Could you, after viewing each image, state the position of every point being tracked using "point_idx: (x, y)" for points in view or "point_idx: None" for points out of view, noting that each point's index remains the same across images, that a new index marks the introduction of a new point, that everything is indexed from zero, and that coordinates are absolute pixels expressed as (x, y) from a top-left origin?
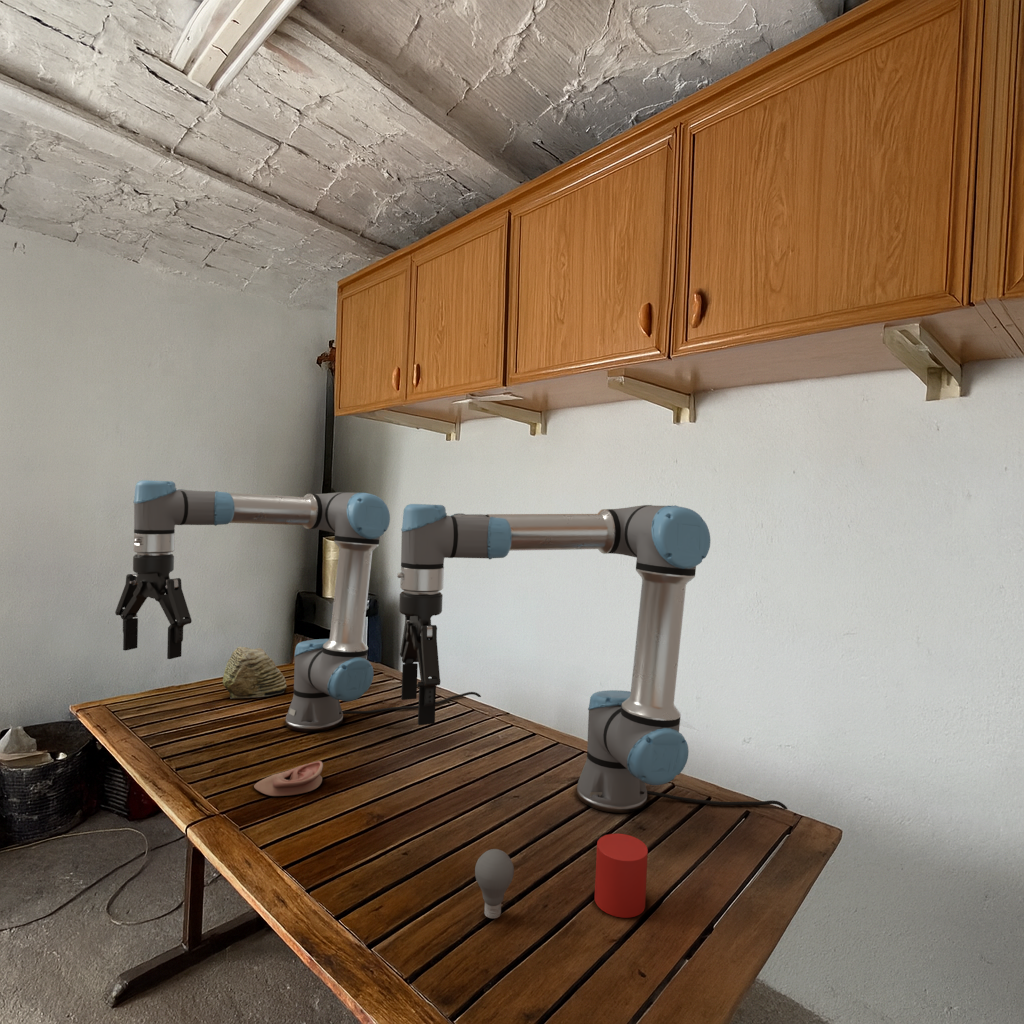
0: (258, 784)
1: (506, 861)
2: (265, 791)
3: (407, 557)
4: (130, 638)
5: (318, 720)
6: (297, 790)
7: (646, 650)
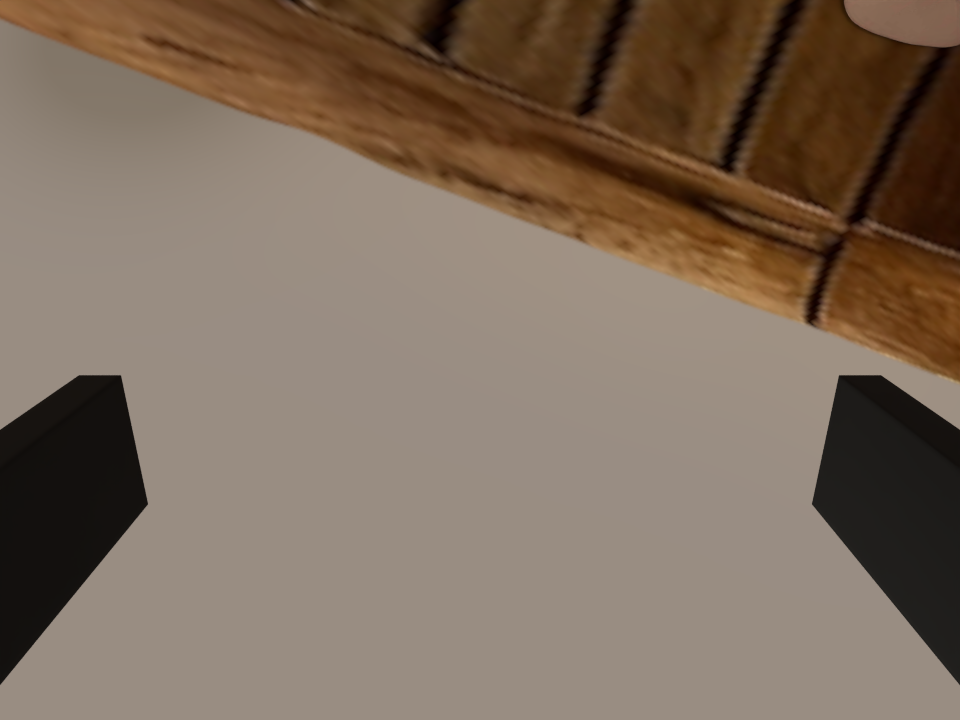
0: (878, 13)
1: None
2: (931, 39)
3: None
4: (61, 530)
5: None
6: None
7: None
